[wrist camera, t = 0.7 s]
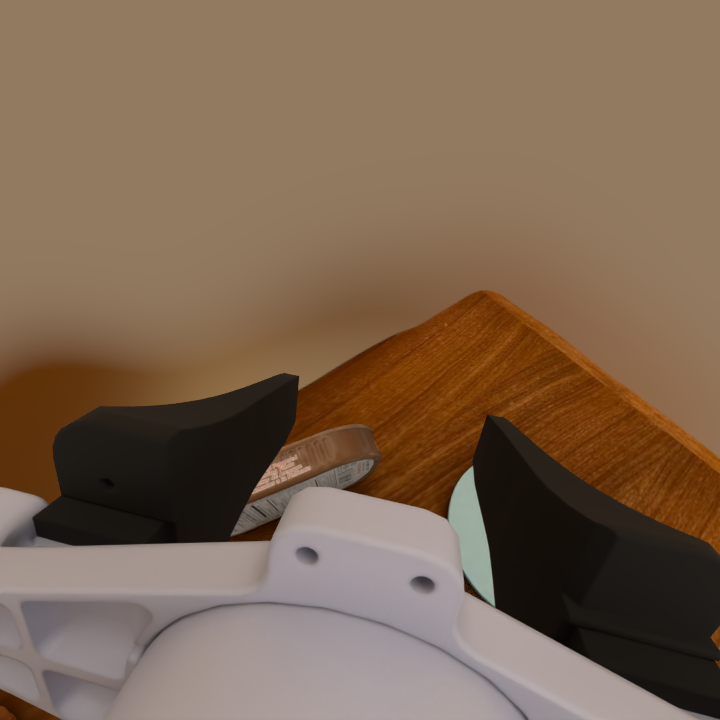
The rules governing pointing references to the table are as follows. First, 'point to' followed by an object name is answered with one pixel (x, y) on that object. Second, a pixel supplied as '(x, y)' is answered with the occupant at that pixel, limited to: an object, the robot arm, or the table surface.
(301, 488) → the tin
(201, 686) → the robot arm
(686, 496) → the table surface
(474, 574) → the lid
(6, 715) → the croissant
